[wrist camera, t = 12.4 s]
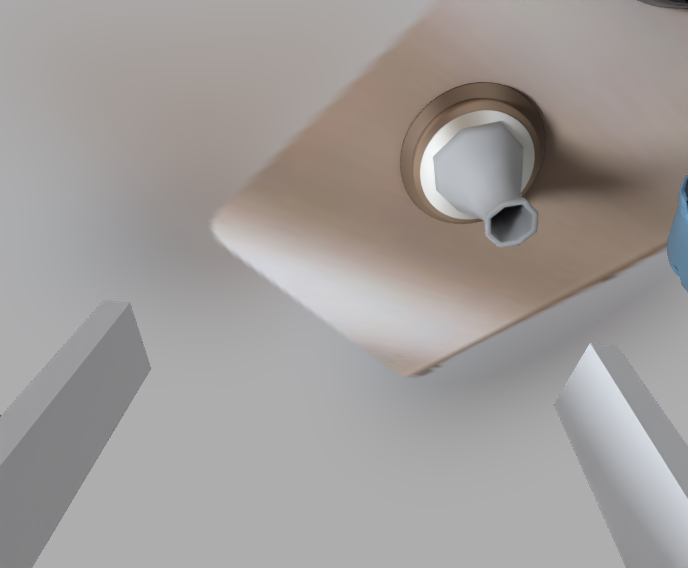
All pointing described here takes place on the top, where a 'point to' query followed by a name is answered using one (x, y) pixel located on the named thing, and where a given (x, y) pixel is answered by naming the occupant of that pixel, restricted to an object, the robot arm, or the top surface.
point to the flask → (487, 181)
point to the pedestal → (447, 120)
